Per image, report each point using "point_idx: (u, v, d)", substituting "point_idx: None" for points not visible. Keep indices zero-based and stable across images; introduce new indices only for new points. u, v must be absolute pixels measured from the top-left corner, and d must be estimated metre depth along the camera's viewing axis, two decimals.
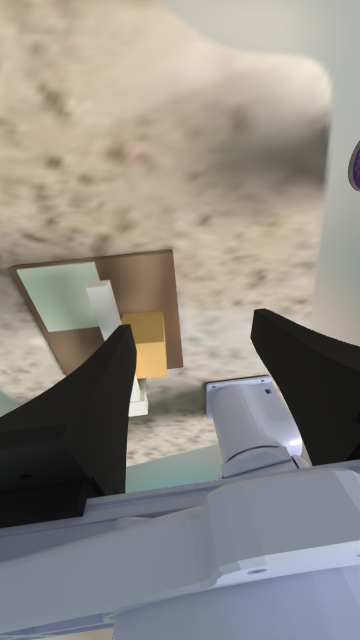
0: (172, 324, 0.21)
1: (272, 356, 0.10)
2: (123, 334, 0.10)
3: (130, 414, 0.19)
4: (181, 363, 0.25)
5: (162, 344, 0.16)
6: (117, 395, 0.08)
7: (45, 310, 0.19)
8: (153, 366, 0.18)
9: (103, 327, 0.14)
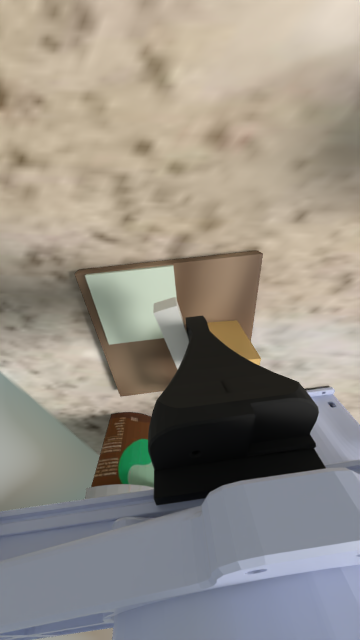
0: None
1: None
2: (207, 324, 0.10)
3: None
4: None
5: (258, 361, 0.14)
6: None
7: (109, 320, 0.17)
8: None
9: (175, 354, 0.11)
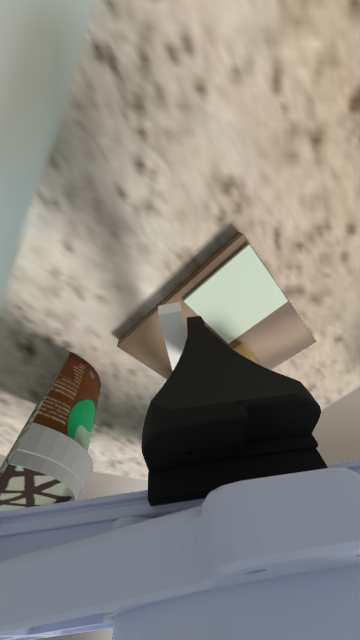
0: None
1: None
2: (204, 325, 0.10)
3: None
4: None
5: None
6: None
7: (212, 287, 0.16)
8: None
9: (173, 357, 0.11)
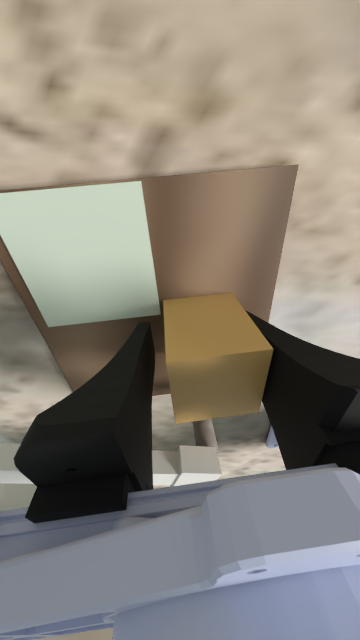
0: (258, 314, 0.13)
1: None
2: (146, 331, 0.10)
3: None
4: None
5: (268, 354, 0.08)
6: (144, 392, 0.08)
7: (42, 285, 0.10)
8: (237, 397, 0.09)
9: None
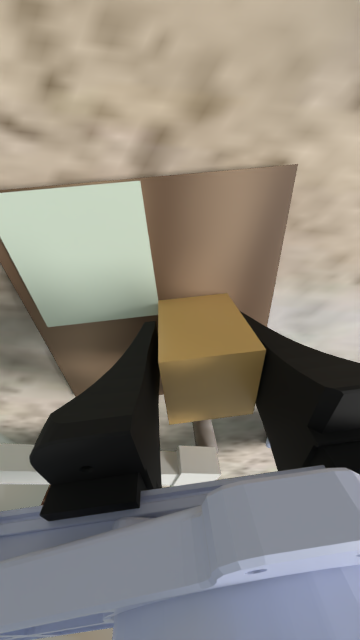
0: (257, 314, 0.13)
1: None
2: (152, 330, 0.10)
3: None
4: None
5: (261, 355, 0.08)
6: (152, 391, 0.08)
7: (41, 285, 0.10)
8: (231, 398, 0.09)
9: None
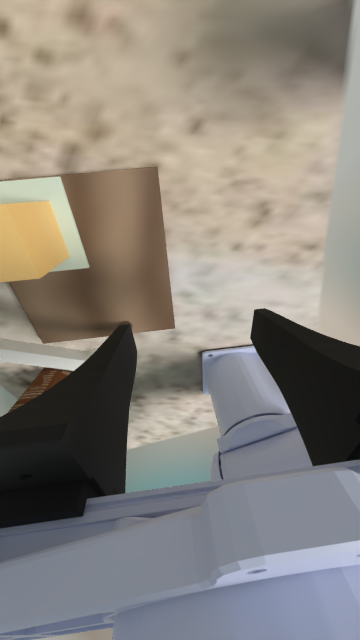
0: (160, 270, 0.18)
1: (272, 356, 0.10)
2: (123, 334, 0.10)
3: None
4: (172, 323, 0.21)
5: (4, 209, 0.10)
6: (117, 395, 0.08)
7: None
8: (9, 257, 0.12)
9: None
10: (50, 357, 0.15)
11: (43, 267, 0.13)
